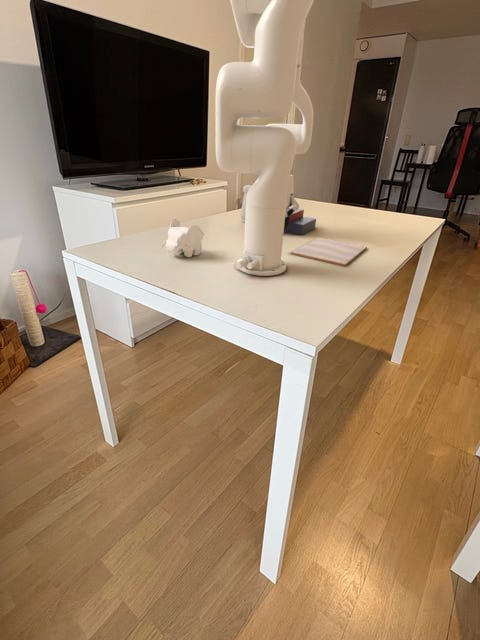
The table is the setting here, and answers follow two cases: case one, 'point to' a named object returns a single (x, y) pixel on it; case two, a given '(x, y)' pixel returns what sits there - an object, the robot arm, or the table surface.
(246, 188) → the salt shaker
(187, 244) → the elephant figurine
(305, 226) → the navy book
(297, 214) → the red rectangular block
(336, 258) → the wooden board
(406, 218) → the table surface
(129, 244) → the table surface
